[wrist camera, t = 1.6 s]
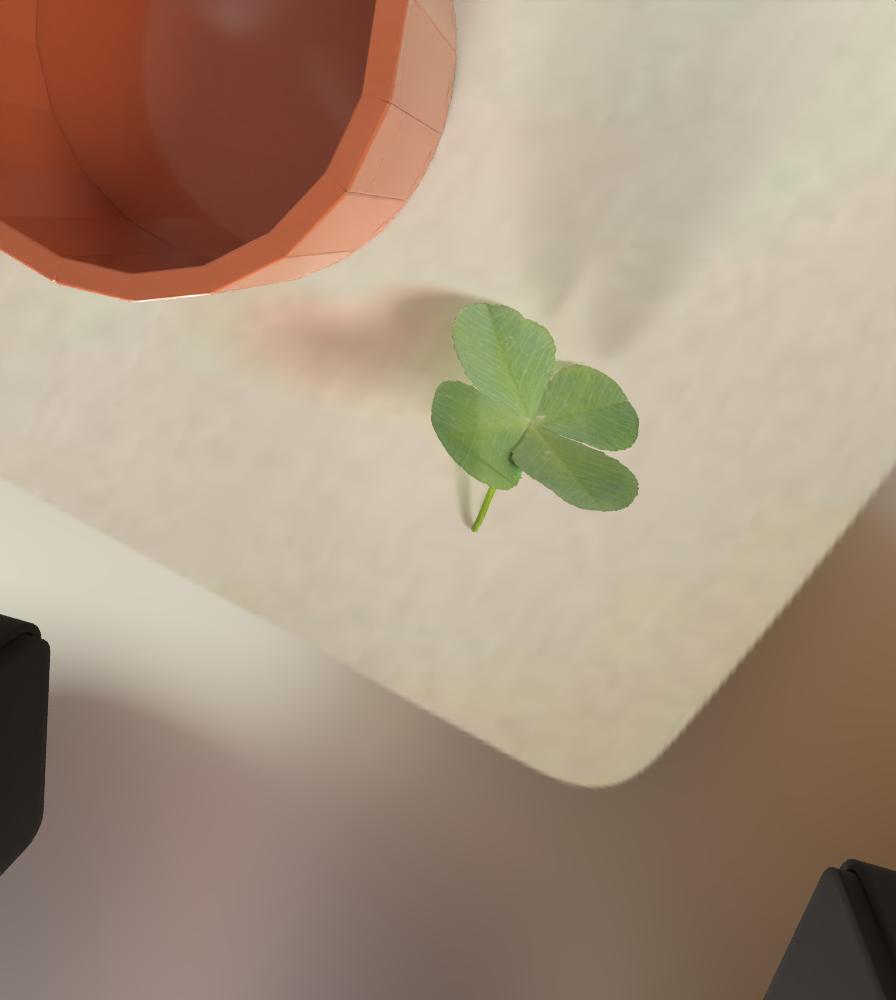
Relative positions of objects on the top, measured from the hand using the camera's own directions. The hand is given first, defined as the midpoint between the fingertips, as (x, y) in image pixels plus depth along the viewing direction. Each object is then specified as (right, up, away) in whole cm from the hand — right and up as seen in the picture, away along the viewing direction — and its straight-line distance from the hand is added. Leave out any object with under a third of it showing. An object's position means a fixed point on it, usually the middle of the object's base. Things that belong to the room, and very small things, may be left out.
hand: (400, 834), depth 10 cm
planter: (-6, +17, +15) cm, 24 cm away
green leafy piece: (+3, +7, +17) cm, 19 cm away
